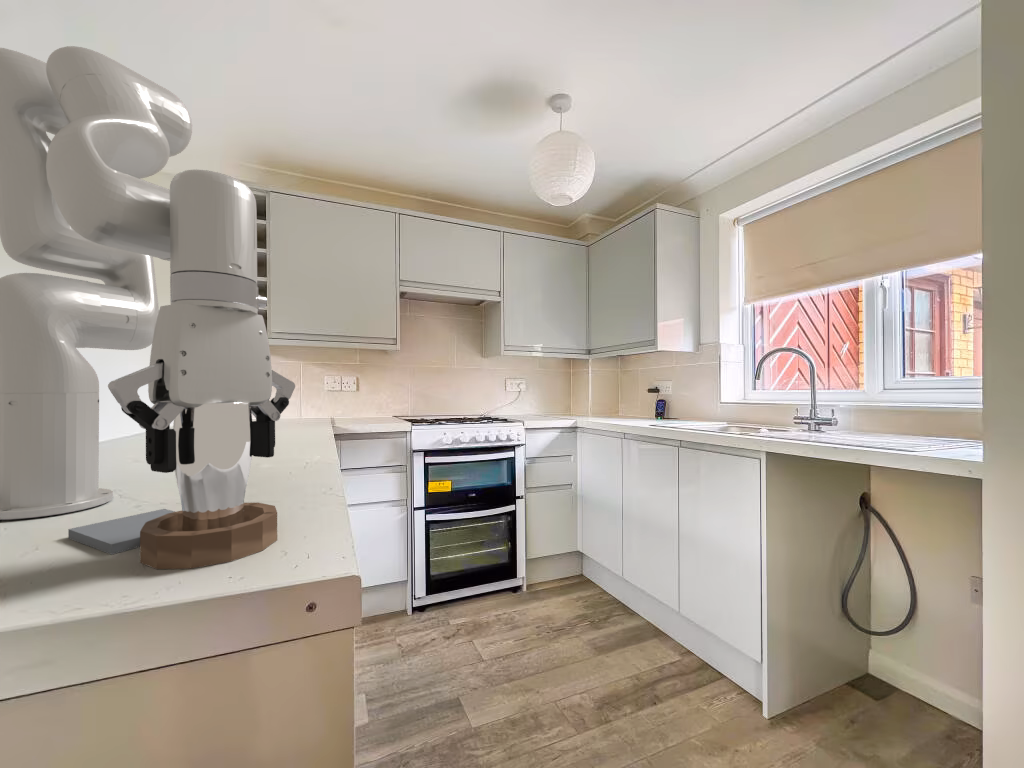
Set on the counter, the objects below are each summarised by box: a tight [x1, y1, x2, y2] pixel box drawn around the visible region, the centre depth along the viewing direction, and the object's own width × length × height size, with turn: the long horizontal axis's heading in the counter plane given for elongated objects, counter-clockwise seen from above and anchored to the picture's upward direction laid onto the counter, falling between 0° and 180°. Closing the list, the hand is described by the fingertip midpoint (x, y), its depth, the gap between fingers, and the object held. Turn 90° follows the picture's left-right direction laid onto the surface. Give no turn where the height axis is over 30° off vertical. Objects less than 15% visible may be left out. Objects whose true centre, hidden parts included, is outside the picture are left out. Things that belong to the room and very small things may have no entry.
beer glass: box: [172, 402, 253, 531], centre depth 46 cm, size 7×7×15 cm
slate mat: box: [67, 508, 176, 555], centre depth 50 cm, size 10×9×1 cm
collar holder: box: [139, 502, 278, 570], centre depth 46 cm, size 11×11×3 cm
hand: (217, 463), depth 46 cm, fingers open, 9 cm apart
